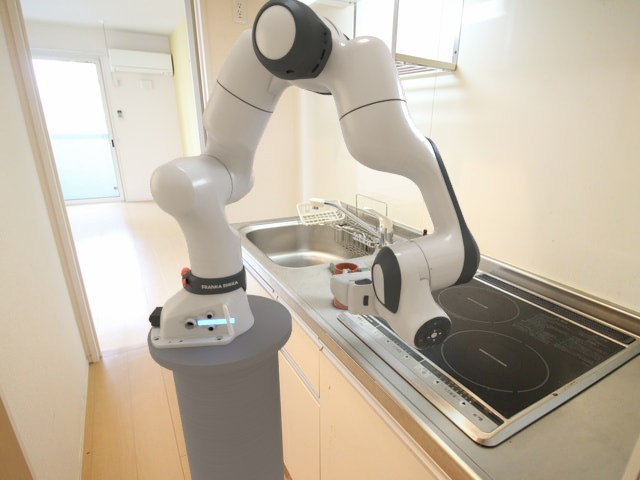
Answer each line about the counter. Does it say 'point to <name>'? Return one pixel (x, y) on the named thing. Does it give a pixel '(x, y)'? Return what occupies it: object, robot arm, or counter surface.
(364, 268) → the scale
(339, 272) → the tumbler
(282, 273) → the counter surface
